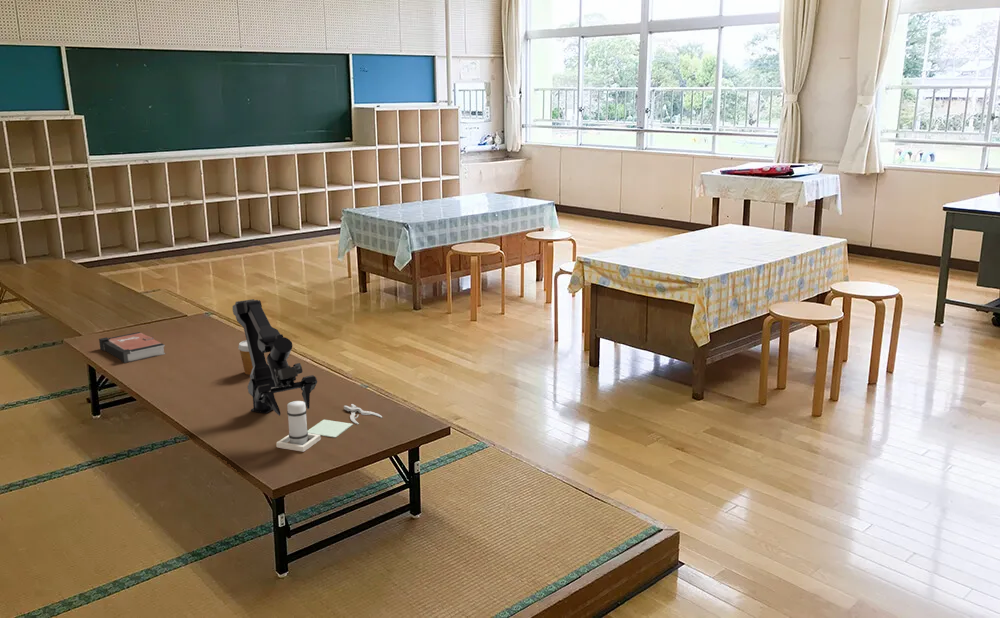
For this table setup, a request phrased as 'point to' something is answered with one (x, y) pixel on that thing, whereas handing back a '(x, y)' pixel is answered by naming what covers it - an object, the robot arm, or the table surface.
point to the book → (132, 347)
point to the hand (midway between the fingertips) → (294, 411)
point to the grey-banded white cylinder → (297, 422)
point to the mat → (329, 428)
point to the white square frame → (285, 445)
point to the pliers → (357, 409)
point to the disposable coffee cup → (245, 357)
